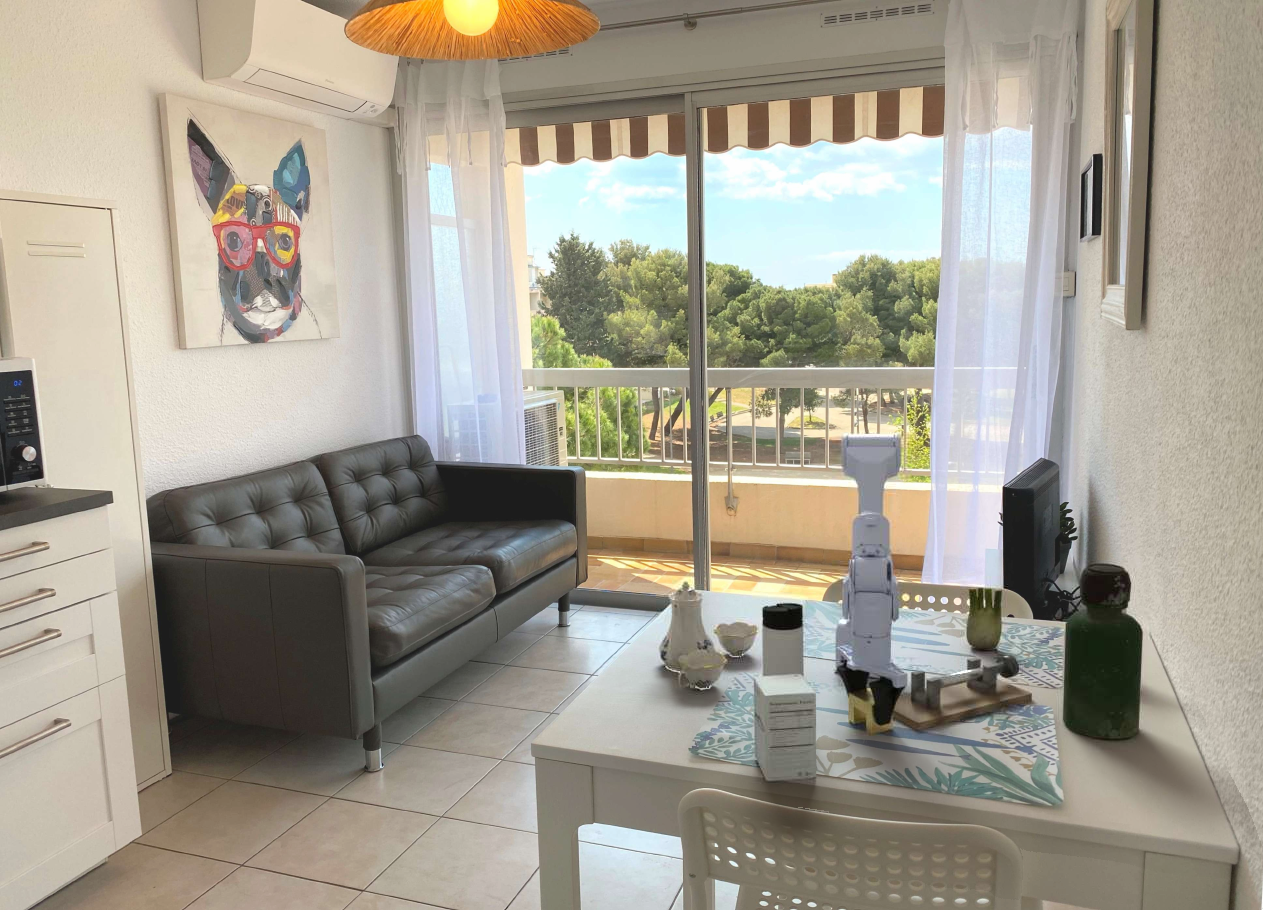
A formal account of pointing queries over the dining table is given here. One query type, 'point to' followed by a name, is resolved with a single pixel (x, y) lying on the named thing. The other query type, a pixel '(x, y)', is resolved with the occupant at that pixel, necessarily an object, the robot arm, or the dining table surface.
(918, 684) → the shaft bracket
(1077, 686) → the green bottle
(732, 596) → the dining table surface
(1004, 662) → the shaft
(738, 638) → the chinaware
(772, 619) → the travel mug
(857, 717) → the spacer
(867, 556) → the robot arm
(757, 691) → the supplement box
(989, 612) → the fennel bulb
